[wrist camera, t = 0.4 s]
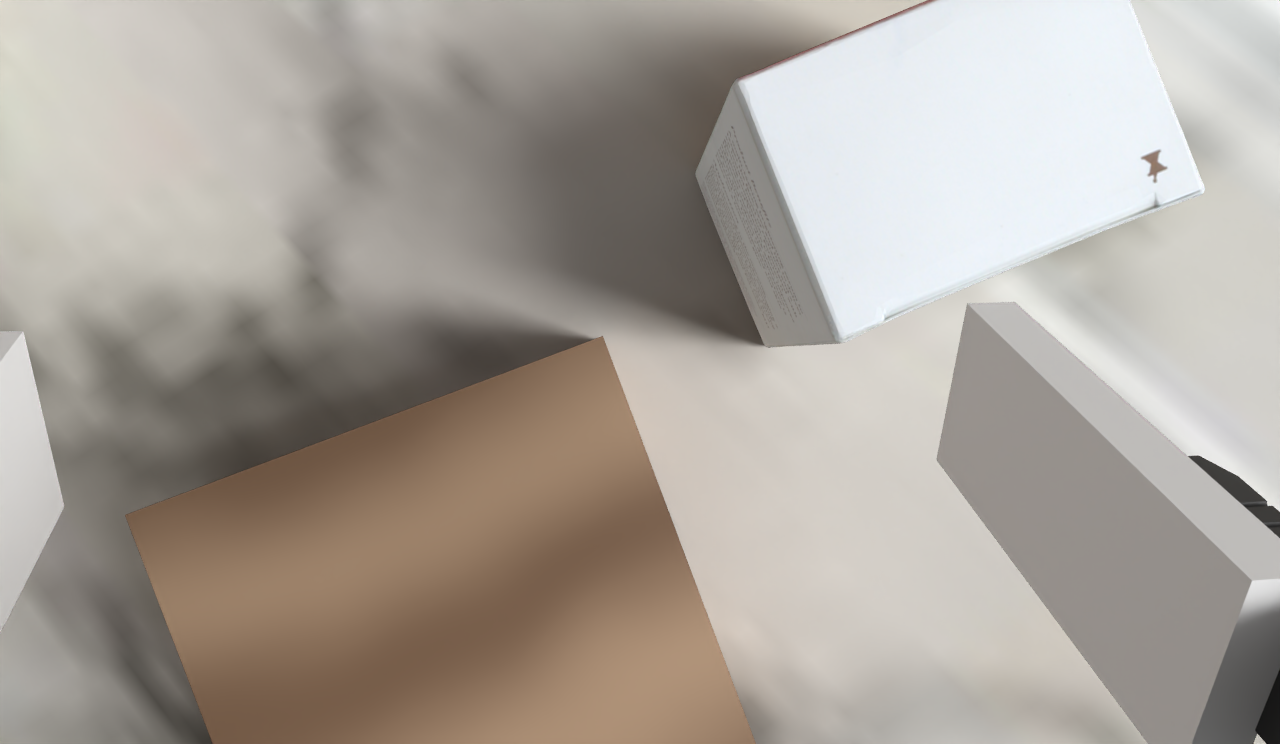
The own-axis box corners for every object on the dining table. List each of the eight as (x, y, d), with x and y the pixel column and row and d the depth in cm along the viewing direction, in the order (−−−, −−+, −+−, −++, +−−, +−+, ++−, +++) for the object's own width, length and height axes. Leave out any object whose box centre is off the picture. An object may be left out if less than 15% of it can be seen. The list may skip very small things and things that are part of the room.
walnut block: (751, 735, 32) (778, 804, 27) (354, 888, 31) (306, 988, 26) (603, 340, 31) (602, 335, 26) (202, 491, 31) (124, 515, 26)
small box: (946, 66, 32) (1113, -83, 21) (1019, 248, 32) (1222, 189, 21) (686, 170, 32) (726, 72, 21) (761, 353, 32) (837, 346, 21)
